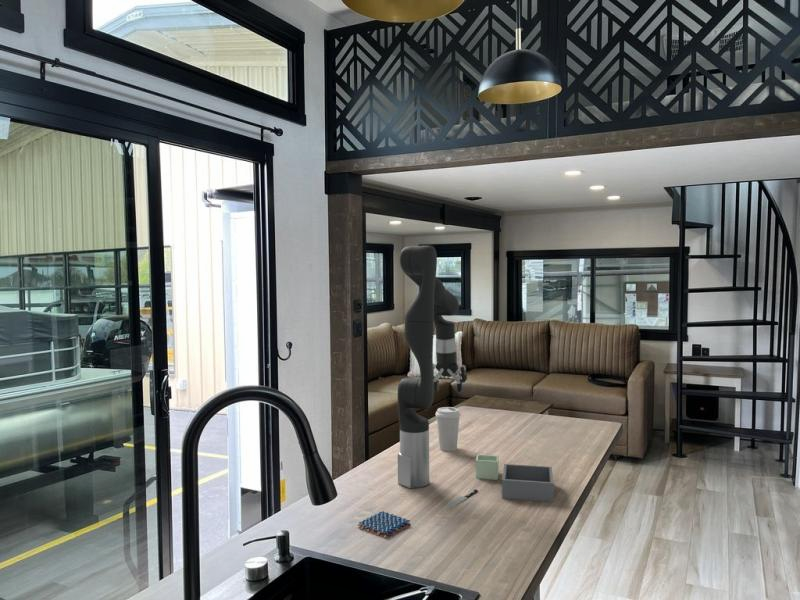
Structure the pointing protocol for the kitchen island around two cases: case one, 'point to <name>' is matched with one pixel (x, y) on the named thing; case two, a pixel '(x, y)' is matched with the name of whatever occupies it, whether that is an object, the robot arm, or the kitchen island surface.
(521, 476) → the charcoal crate
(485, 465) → the sage crate
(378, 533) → the woven mat
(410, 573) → the kitchen island surface
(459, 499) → the chef's knife
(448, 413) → the coffee cup
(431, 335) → the robot arm
